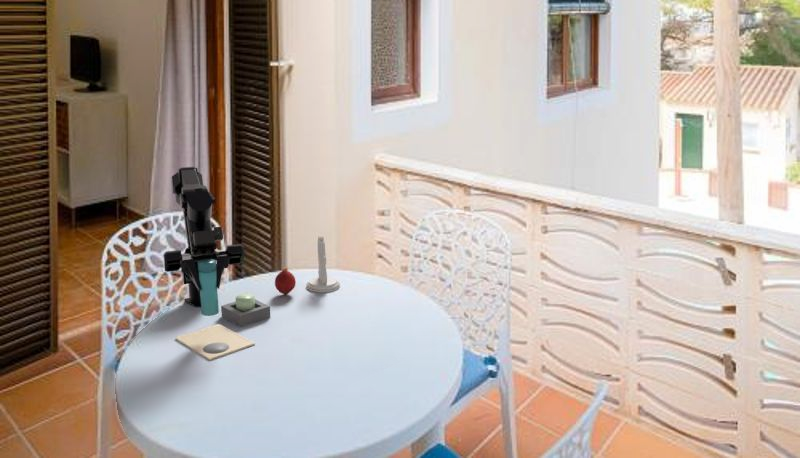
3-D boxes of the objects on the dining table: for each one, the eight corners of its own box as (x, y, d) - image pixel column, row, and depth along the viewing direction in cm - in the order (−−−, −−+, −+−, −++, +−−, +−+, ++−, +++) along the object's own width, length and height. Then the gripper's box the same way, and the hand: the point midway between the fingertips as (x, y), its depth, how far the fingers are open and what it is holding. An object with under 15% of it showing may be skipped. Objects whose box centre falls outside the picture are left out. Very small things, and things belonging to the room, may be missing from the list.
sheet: (175, 339, 171) (175, 337, 171) (219, 325, 179) (219, 323, 179) (209, 360, 160) (209, 358, 160) (254, 344, 168) (254, 343, 168)
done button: (232, 309, 184) (231, 297, 183) (248, 304, 187) (247, 292, 186) (242, 314, 181) (242, 301, 180) (258, 309, 184) (258, 297, 183)
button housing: (221, 316, 184) (221, 305, 184) (251, 307, 190) (250, 297, 190) (240, 326, 178) (240, 315, 177) (270, 317, 184) (270, 306, 184)
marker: (203, 309, 173) (199, 259, 169) (220, 309, 173) (217, 258, 170) (199, 316, 169) (195, 264, 165) (217, 315, 169) (214, 264, 165)
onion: (291, 299, 197) (290, 272, 195) (272, 297, 198) (271, 270, 196) (298, 292, 202) (297, 265, 200) (279, 290, 203) (278, 264, 201)
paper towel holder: (309, 293, 201) (308, 243, 197) (303, 282, 210) (302, 234, 206) (343, 290, 204) (342, 240, 200) (336, 279, 213) (335, 231, 209)
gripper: (160, 219, 165) (168, 278, 158) (241, 212, 172) (251, 269, 165) (161, 242, 174) (168, 299, 167) (237, 235, 181) (247, 289, 174)
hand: (209, 289), depth 168 cm, fingers closed on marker, 4 cm apart
